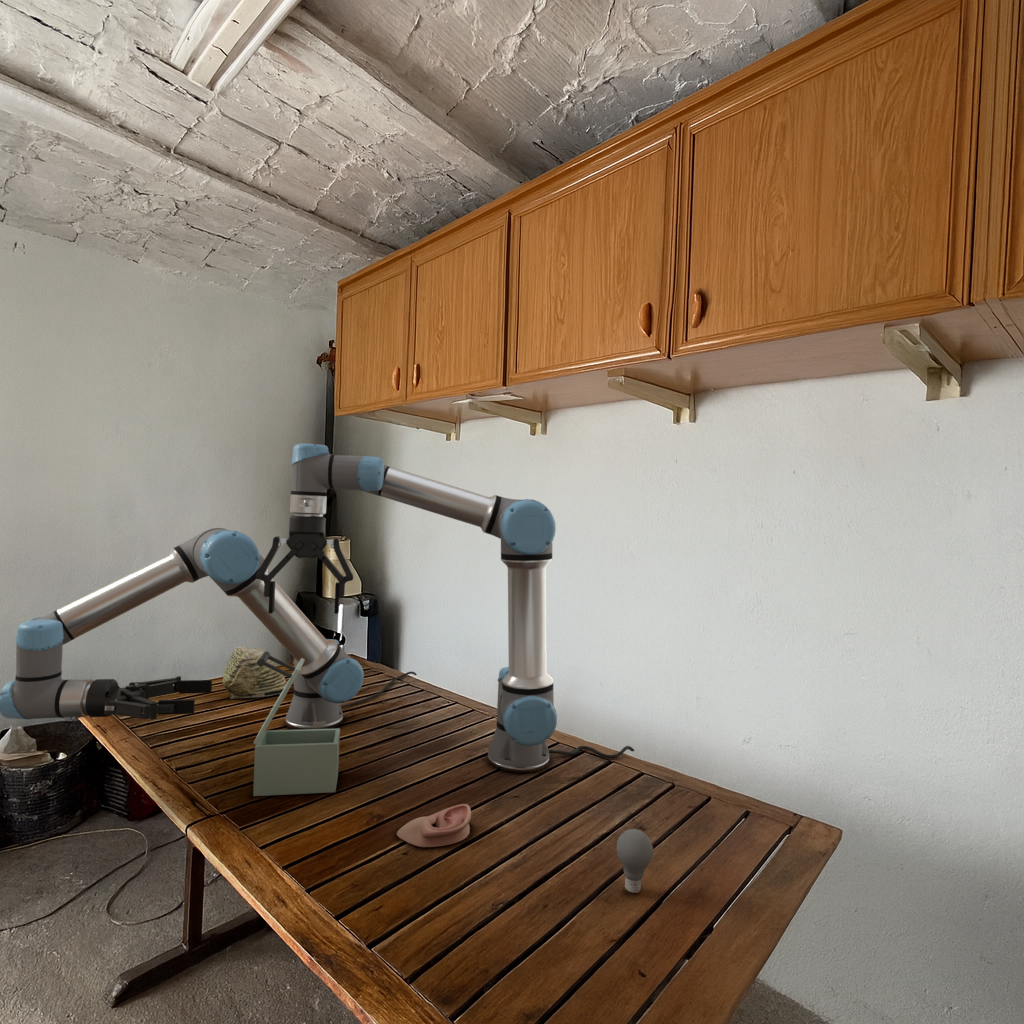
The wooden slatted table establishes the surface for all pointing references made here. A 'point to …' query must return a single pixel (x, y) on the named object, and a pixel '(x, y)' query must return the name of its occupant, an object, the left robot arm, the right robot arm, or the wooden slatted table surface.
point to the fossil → (251, 675)
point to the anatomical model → (438, 827)
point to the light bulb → (634, 857)
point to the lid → (263, 662)
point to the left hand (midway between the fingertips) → (203, 695)
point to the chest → (296, 762)
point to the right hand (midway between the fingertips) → (304, 612)
